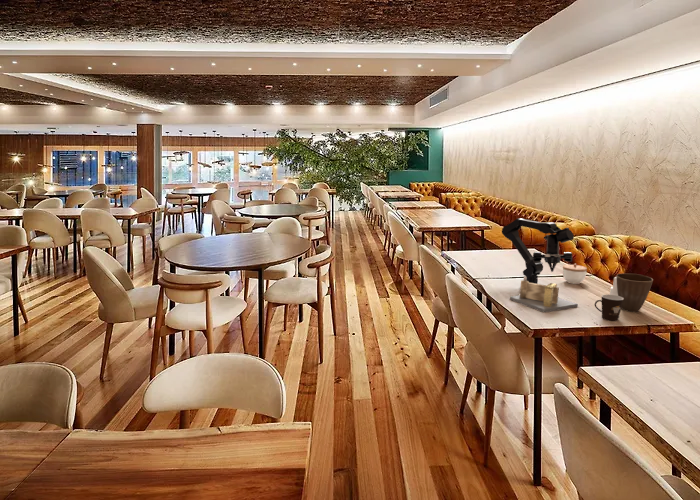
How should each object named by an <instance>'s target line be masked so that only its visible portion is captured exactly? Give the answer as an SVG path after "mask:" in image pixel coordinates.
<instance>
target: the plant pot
mask: <svg viewBox="0 0 700 500" xmlns="http://www.w3.org/2000/svg"><path fill="white" fill-rule="evenodd" d="M616 277H617V291H618V296H620V297H622V298H624V299H623V303H622V307H621V310H622V311H626V312H631V313H638V312H640V311H641V308H642V307H643V306H644V304H645V302H646V300H647V298H648V296H649V293H650V291H651V287H652V285H653V282H654V279H653V278H652V277H650V276H647V275H643V274H637V273H617V274H616Z"/></svg>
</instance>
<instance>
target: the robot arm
mask: <svg viewBox="0 0 700 500" xmlns="http://www.w3.org/2000/svg"><path fill="white" fill-rule="evenodd" d="M522 227H524V228H529V229H534V230H536V231H538V232H540V233H543V234H545V236H544V237H543V239H545V240H546V253H544V254H542V252H541V251H534V252H533V253H531V251H530V250H529V248H528V247H527V246H526V245H525V243H524V242H523V240H522V239H521V237H520V235H519V233H520V232H519V230H520V229H521V228H522ZM501 234H502V235H503V236H504V237H505V238H506V239H507V240H508V241H511V243H512V244H513V245H514V247H515V249H516V250H517V252H518V253H519V254H520V256H521V258H522V259H523V260H524V261H525V269H523V271H522V274H523V276H526V277H527V280H526V281H529V283H535V284H539V283H538V282H539V277H538V276H539V275H541V273H542V271H543V270H544V265H543V263H544V262H545V263H547V264H548V266H549V268H550V269H549V270H550V272H551V273H554V270H555V268H556V266H557V264H558V263H561V259H563V261H564V262H566V263H567V262H568V263H569V262H570V263H572V262H573V253H572V252H569V251H566V252H565V251H564V252H563V254H560V253H559V247H560V246H559V245H560V244H559V243H561V244H563V243H567V242H570V241H573V240H574V237H575V235H574V233H573V231H572V230H571V229H570V227H565V228H562V229H561V228H559V226H557V224H556V223H555V222H554V221H553V222H552V221H551V222H550V221H549V222H543V221H542V222H540V221H535V220H531V219H525V218H523V217H522V218H521V217H520V218H516V219H514V221H512V222H510V223H508V224H507V225H504V226H503V227H502V229H501ZM543 260H544V262H542V261H543Z"/></svg>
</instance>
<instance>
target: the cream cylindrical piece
mask: <svg viewBox="0 0 700 500" xmlns="http://www.w3.org/2000/svg"><path fill="white" fill-rule="evenodd" d="M612 282H613V284H612V286H610V291H609V295H616V296H618V291H617V276H615V277H613V281H612Z"/></svg>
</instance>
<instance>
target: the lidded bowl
mask: <svg viewBox="0 0 700 500" xmlns="http://www.w3.org/2000/svg"><path fill="white" fill-rule="evenodd" d="M587 270H588V268H587V267H586V266H583V265H578V264H577V263H574V264H564V265H562V277H563V278H564V280H565V281H566V283H568V284H572V285H580V284H581V283H582V282H583V281H584V280H585V278H586V276H587Z"/></svg>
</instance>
